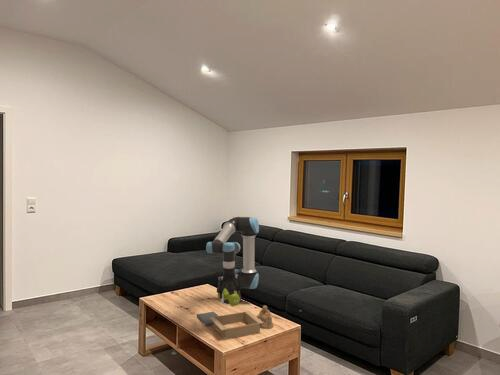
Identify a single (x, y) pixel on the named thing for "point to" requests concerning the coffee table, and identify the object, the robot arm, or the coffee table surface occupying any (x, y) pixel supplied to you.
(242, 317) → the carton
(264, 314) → the statue
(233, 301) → the dumbbell
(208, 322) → the mat
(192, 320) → the coffee table surface
